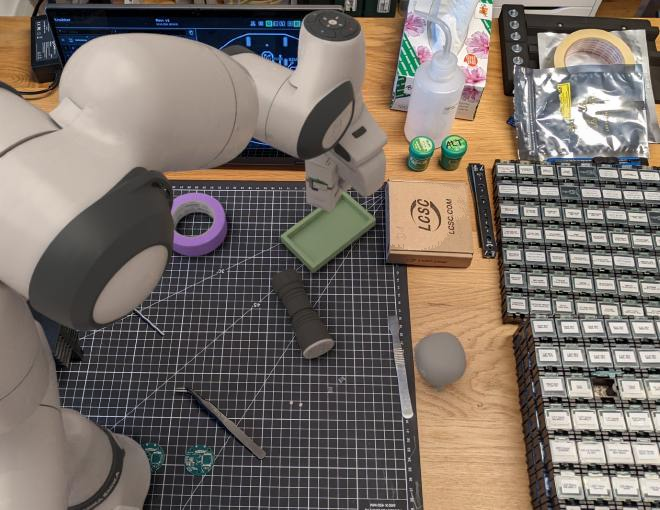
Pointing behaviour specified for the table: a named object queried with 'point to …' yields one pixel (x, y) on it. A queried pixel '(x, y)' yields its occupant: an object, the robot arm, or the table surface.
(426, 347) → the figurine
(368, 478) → the table surface
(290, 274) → the flashlight
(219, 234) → the tape roll
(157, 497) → the table surface
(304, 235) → the tray
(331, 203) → the ink box
